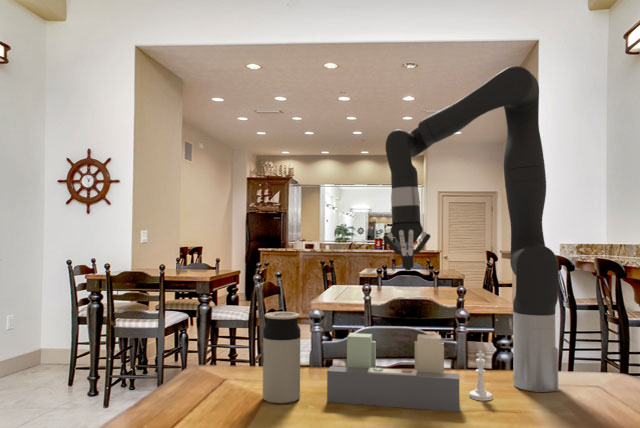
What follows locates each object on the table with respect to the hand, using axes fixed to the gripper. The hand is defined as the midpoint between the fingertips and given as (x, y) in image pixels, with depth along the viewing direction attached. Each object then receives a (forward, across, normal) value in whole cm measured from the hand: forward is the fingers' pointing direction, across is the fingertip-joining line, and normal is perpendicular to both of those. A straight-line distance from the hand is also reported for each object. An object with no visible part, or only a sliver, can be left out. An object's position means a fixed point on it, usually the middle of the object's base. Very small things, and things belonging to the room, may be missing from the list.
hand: (408, 270), depth 141 cm
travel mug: (+25, -26, -32) cm, 49 cm away
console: (+26, -2, -26) cm, 37 cm away
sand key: (+24, +5, -22) cm, 33 cm away
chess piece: (+27, +16, -20) cm, 38 cm away
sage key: (+24, -10, -25) cm, 36 cm away
